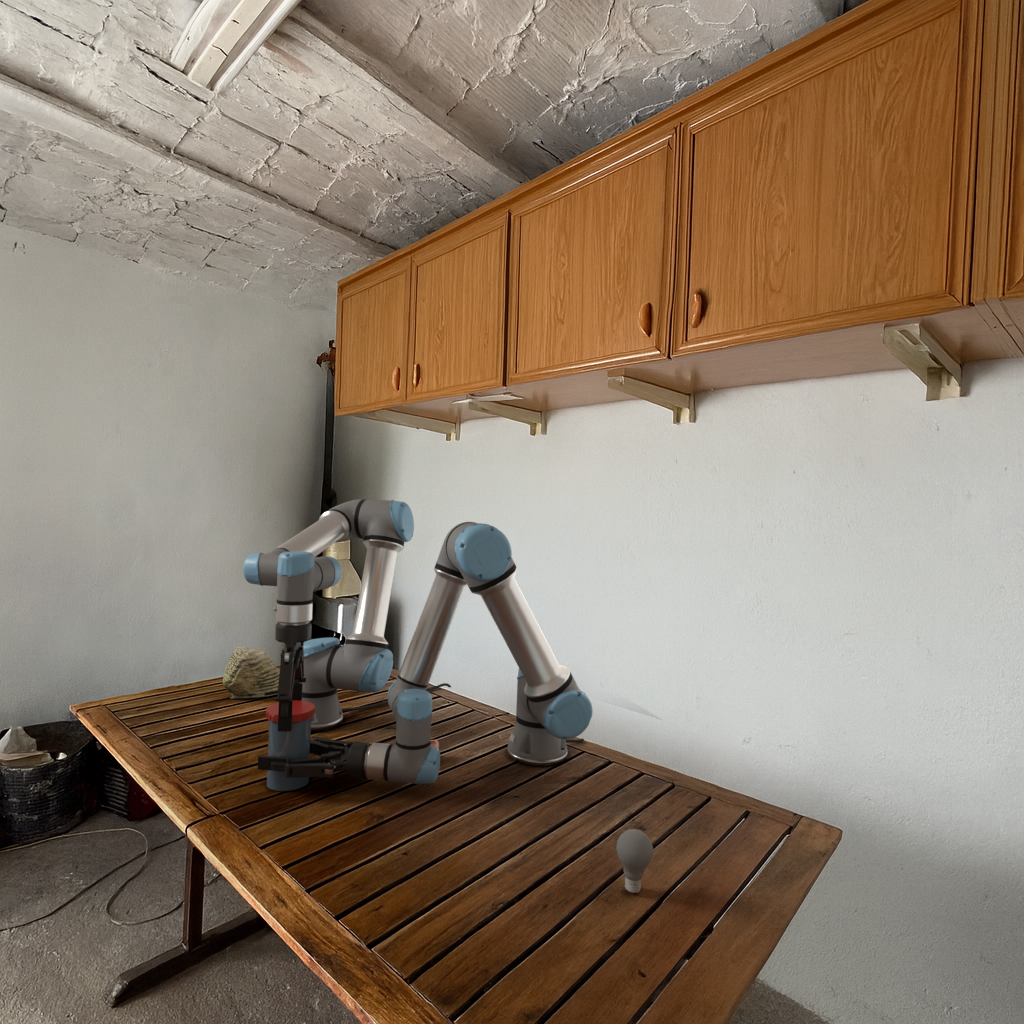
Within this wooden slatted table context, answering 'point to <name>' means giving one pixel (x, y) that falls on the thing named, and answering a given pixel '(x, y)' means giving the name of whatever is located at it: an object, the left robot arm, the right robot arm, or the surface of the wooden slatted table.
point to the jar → (288, 753)
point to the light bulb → (634, 857)
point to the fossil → (251, 674)
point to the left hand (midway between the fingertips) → (290, 721)
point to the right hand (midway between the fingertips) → (268, 753)
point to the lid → (299, 712)
